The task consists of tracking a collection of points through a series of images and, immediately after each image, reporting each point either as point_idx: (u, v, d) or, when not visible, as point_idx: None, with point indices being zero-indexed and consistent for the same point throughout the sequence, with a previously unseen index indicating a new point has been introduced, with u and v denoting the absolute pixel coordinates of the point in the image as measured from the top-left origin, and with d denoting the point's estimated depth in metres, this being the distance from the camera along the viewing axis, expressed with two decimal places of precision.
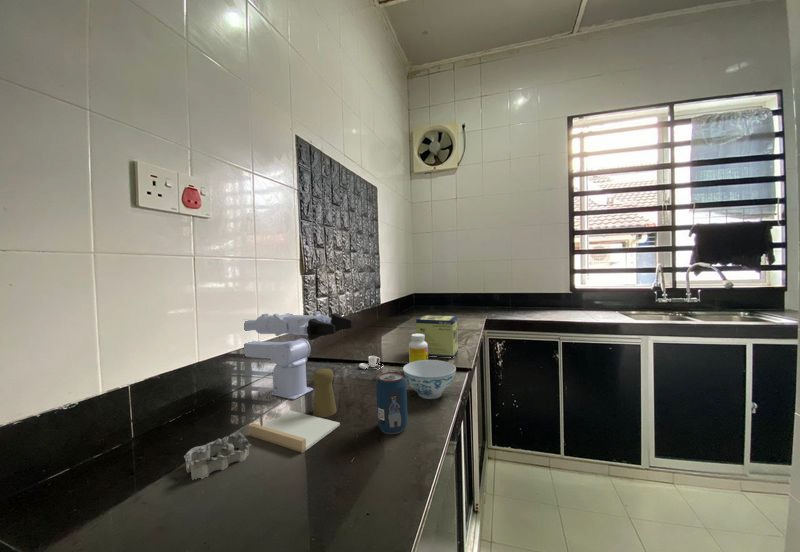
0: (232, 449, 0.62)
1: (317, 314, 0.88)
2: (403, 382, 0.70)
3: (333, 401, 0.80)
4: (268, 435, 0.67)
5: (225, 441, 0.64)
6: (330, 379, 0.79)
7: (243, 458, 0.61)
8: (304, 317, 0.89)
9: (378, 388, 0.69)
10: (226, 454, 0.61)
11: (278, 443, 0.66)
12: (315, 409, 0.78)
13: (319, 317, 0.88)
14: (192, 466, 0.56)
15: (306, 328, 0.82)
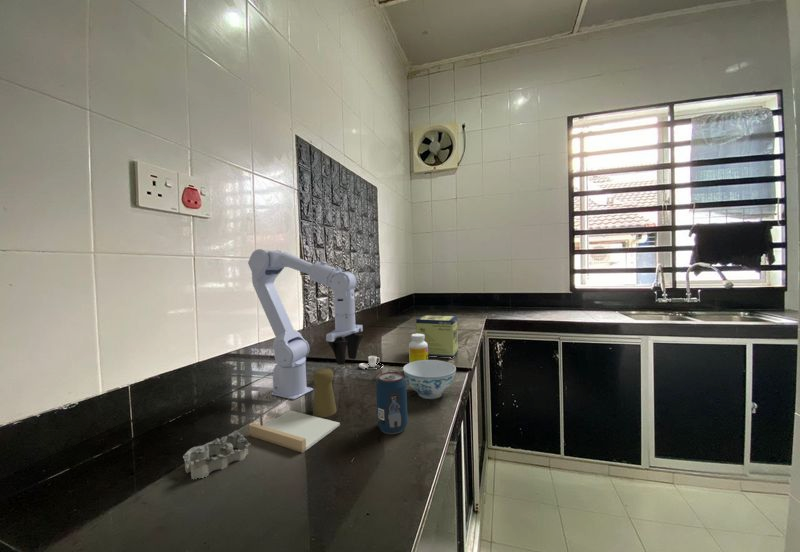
0: (231, 449, 0.62)
1: (354, 332, 0.87)
2: (403, 382, 0.70)
3: (333, 401, 0.80)
4: (268, 435, 0.67)
5: (224, 441, 0.64)
6: (330, 379, 0.79)
7: (243, 457, 0.61)
8: (349, 318, 0.87)
9: (378, 388, 0.69)
10: (225, 454, 0.61)
11: (278, 443, 0.66)
12: (315, 409, 0.78)
13: None
14: (192, 466, 0.56)
15: (332, 341, 0.83)
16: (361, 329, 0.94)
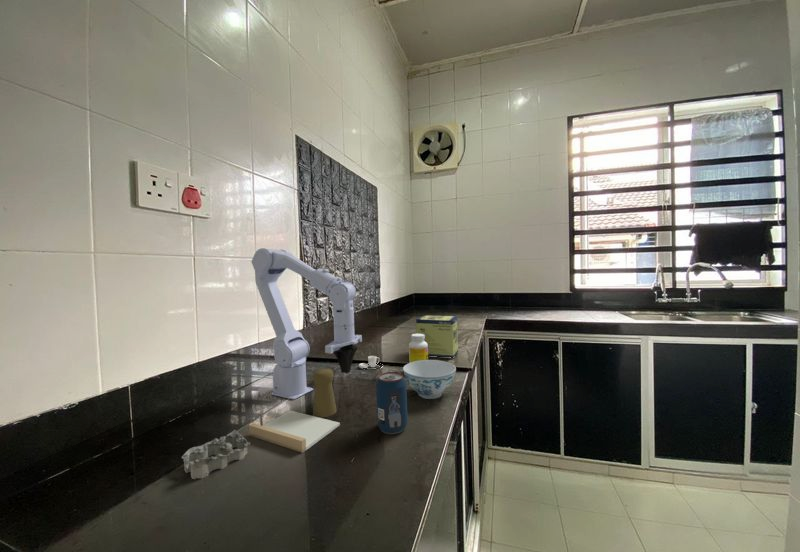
0: (230, 448, 0.62)
1: (353, 343, 0.87)
2: (403, 382, 0.70)
3: (333, 401, 0.80)
4: (268, 435, 0.67)
5: (222, 441, 0.64)
6: (330, 379, 0.79)
7: (242, 456, 0.61)
8: (348, 329, 0.86)
9: (378, 388, 0.69)
10: (225, 453, 0.61)
11: (278, 443, 0.66)
12: (315, 409, 0.78)
13: None
14: (192, 466, 0.56)
15: (331, 353, 0.83)
16: (360, 339, 0.94)
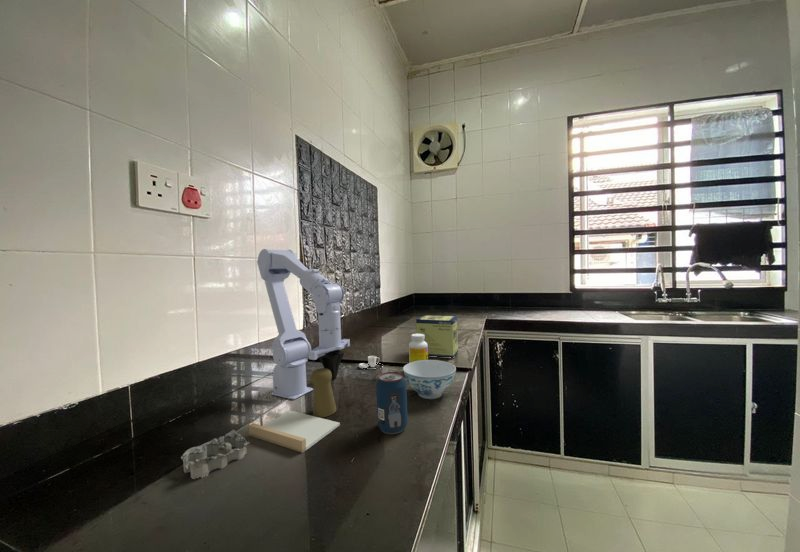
0: (230, 448, 0.62)
1: None
2: (403, 382, 0.70)
3: (332, 400, 0.80)
4: (268, 435, 0.67)
5: (221, 440, 0.64)
6: (328, 379, 0.78)
7: (242, 456, 0.62)
8: (334, 334, 0.81)
9: (378, 388, 0.69)
10: (224, 453, 0.61)
11: (278, 443, 0.66)
12: (315, 409, 0.78)
13: None
14: (192, 466, 0.56)
15: (315, 359, 0.77)
16: (348, 344, 0.88)
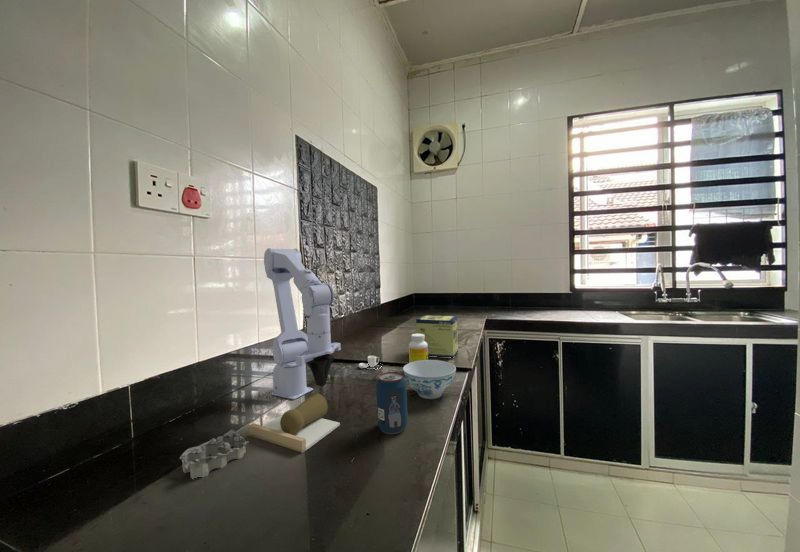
0: (229, 447, 0.62)
1: None
2: (403, 382, 0.70)
3: (318, 410, 0.74)
4: (268, 435, 0.67)
5: (220, 440, 0.64)
6: (302, 425, 0.69)
7: (241, 455, 0.62)
8: (323, 337, 0.77)
9: (378, 388, 0.69)
10: (223, 452, 0.61)
11: (278, 443, 0.66)
12: None
13: None
14: (192, 466, 0.56)
15: None
16: (339, 348, 0.85)
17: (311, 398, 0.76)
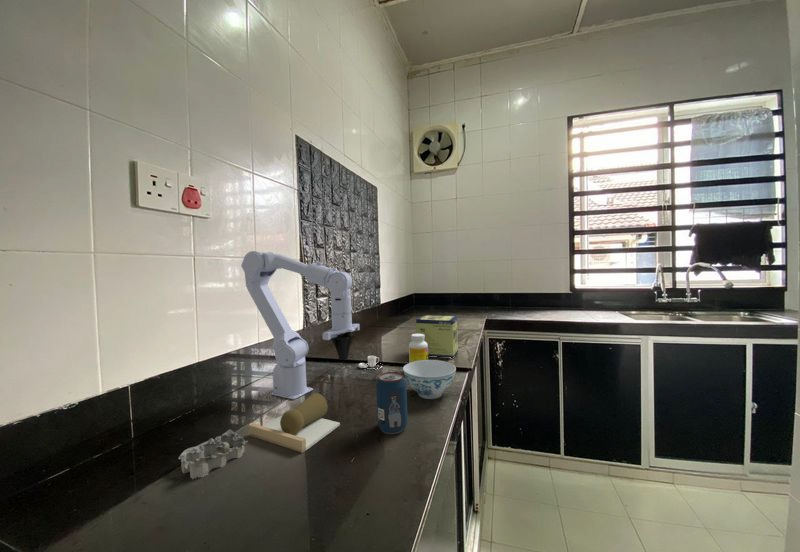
0: (228, 447, 0.62)
1: None
2: (403, 382, 0.70)
3: (318, 410, 0.74)
4: (268, 435, 0.67)
5: (218, 440, 0.64)
6: (302, 425, 0.69)
7: (240, 454, 0.62)
8: (345, 317, 0.89)
9: (378, 388, 0.69)
10: (222, 452, 0.61)
11: (278, 443, 0.66)
12: None
13: None
14: (191, 465, 0.56)
15: (328, 339, 0.85)
16: (358, 328, 0.96)
17: (311, 398, 0.76)
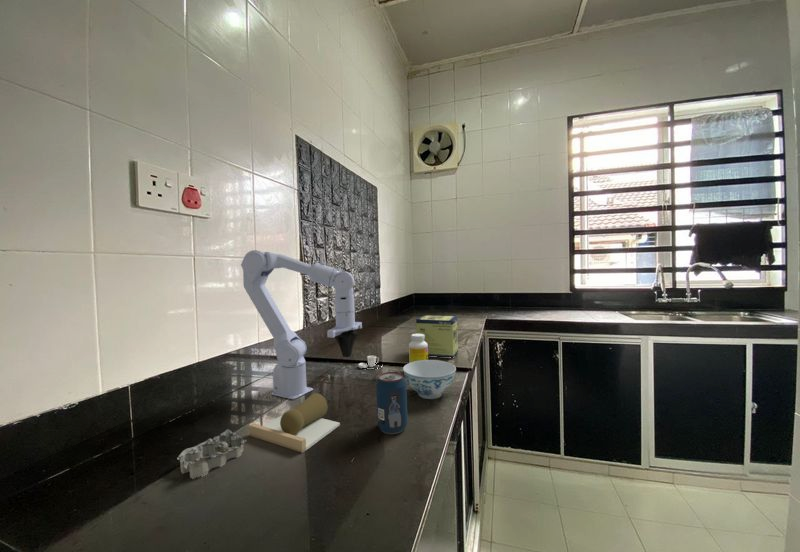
0: (227, 446, 0.63)
1: None
2: (403, 382, 0.70)
3: (318, 410, 0.74)
4: (268, 435, 0.67)
5: (217, 440, 0.64)
6: (302, 425, 0.69)
7: (239, 454, 0.62)
8: (349, 315, 0.91)
9: (378, 388, 0.69)
10: (221, 452, 0.62)
11: (278, 443, 0.66)
12: None
13: None
14: (191, 465, 0.56)
15: (333, 337, 0.88)
16: (360, 326, 0.99)
17: (311, 398, 0.76)
